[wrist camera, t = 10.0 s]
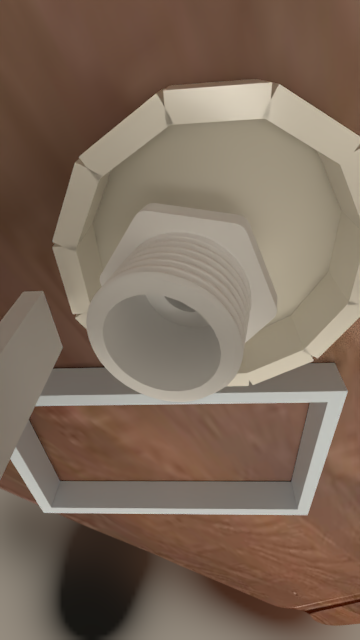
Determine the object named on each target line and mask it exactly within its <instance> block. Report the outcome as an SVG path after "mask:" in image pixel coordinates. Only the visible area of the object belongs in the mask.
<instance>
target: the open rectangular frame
mask: <svg viewBox="0 0 360 640" xmlns="http://www.w3.org/2000/svg"><path fill="white" fill-rule="evenodd" d="M347 392H348V391H347V388H346V386H345V384H344V382H343V380H342V378H341V376H340V373H339V371H338V369H337V367H336V365H335V363H307V364H305V365H302V366H300V367H297V368H295V369H292V370H290V371H287V372H285V373H282V374H280V375H277V376H275V377H272V378H270V379H267V380H265V381H262V382H260V383H257V384H255V385H252V383H251V382H250V381H249V386H225V387H224V388H223V389H221V390H220V391H218V392H216V393H214V394H211V395H208V396H206V397H204V398H201V399H198V400H194V401H189V402H170V401H164V400H159V399H155V398H152V397H149V396H146V395H144V394H141V393H139V392H137V391H135V390H133V389H131V388H130V387H128V386H126V385H125V384H123V383H122V382H121V381H119V380H118V379H117V378H115V377H114V376H113V375H112V374H111V373H110V372H109V371H108V370H107V369H106V368H58V369H52V371H51V374H50V376H49V378H48V380H47V382H46V384H45V386H44V388H43V390H42V393H41V395H40V397H39V399H38V401H37V403H36V405H35V406H79V405H156V404H233V403H310V404H309V408H308V413H307V417H306V421H305V425H304V429H303V434H302V438H301V442H300V446H299V451H298V455H297V459H296V463H295V467H294V472H293V476H292V480H291V482H226V481H60V480H59V478H58V476H57V474H56V472H55V470H54V468H53V466H52V464H51V462H50V460H49V458H48V457H47V455H46V453H45V451H44V449H43V447H42V445H41V443H40V441H39V439H38V437H37V435H36V433H35V431H34V429H33V427H32V425H31V423H30V421H29V420H28V422H27V424H26V426H25V428H24V431H23V433H22V435H21V437H20V439H19V441H18V443H17V445H16V447H15V450H14V452H13V454H12V456H11V458H10V459H11V461H12V462H13V464H14V466H15V467H16V469H17V470H18V472H19V474H20V475H21V477H22V478H23V480H24V482H25V483H26V485H27V486H28V488H29V490H30V491H31V493H32V495H33V496H34V498H35V499H36V501H37V503H38V504H39V506H40V507H41V509H42V511H43V512H44V513H124V514H240V515H308V512H309V509H310V506H311V503H312V500H313V497H314V494H315V491H316V487H317V484H318V481H319V478H320V475H321V472H322V469H323V466H324V463H325V460H326V457H327V454H328V451H329V447H330V444H331V441H332V438H333V435H334V432H335V429H336V426H337V423H338V420H339V417H340V414H341V411H342V407H343V404H344V401H345V398H346V395H347Z"/></svg>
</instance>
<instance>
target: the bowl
mask: <svg viewBox="0 0 360 640" xmlns="http://www.w3.org/2000/svg"><path fill="white" fill-rule="evenodd" d="M79 158H80V159H78V160H77V161H76V162H75V164H74V168H73V171H72V174H71V178H70V181H69V185H68V188H67V192H66V195H65V199H64V202H63V206H62V209H61V213H60V216H59V219H58V223H57V226H56V230H55V233H54V237H53V240H52V242H53V243H55V244H54V245H53V247H52V248H53V252H54V255H55V258H56V262H57V265H58V268H59V271H60V275H61V278H62V281H63V285H64V288H65V291H66V295H67V298H68V301H69V304H70V308H71V311H72V314H77V315H76V317H75V319H76V320H77V321H78V322H79V323H81V324H82V325H83V326H84V327H85V328H86V329H87V325H86V319H87V312H88V308H89V305H90V303H91V301H92V299H93V297H94V296H95V294H96V293H97V292H98V291H99V290H100V288H101V287H102V286H101V284H100V275H101V274H102V272H103V270H104V268H105V267H106V265H107V263H108V262H109V260H110V258H111V256H112V255H113V253H114V251H115V250H116V248H117V246H118V244H119V243H120V241H121V239H122V237H123V236H124V234H125V232H126V231H127V229H128V227H129V225H130V224H131V222H132V220H133V219H134V217H135V215H136V214H137V213H138V212H139V211H140V210H141V209H143V208H144V207H145V206H146V205H147V204H150V203H159V204H166V205H173V206H180V207H187V208H194V209H202V210H209V211H216V212H223V213H230V214H237V215H241V216H243V217H245V218H246V219H247V220H248V222H249V223H250V226H251V228H252V231H253V234H254V236H255V239H256V241H257V244H258V247H259V249H260V252H261V254H262V257H263V260H264V262H265V265H266V268H267V270H268V273H269V275H270V278H271V281H272V283H273V286H274V289H275V291H276V294H277V298H278V301H277V313H276V316H275V317H274V318H273V319H272V320H271V321H270V322H269V323H268V324H266V325H265V326H264V327H263V328H262V329H261V330H260V331H258V332H257V333H256V334H255V335H254V336H253V337H252V338H250V339H249V340H248V341H247V342H246V343H245V347H244V351H243V359H242V363H241V366H240V369H239V371H238V372H237V374H236V376H235V377H234V379H233V380H232V381H231V382H230V383H229V384H228V385H227V386H249V381H250V382H251V383H252V385H255V384H257V383H260V382H262V381H265V380H267V379H270V378H272V377H275V376H277V375H280V374H282V373H285V372H287V371H290V370H292V369H295V368H297V367H300V366H302V365H305V364H307V363H310V362H312V361H314V360H313V357H312V356H314V357H316V358H319V357H320V356H321V355H322V354H323V353H324V352H325V351H326V350H327V349H328V348H329V347H330V346H331V345H332V344H333V343H334V342H335V341H336V340H337V339H338V338H339V337H340V336H341V335H342V334H343V333H344V332H345V331H346V330H347V329H348V328H349V327H350V326H351V325H352V324H353V323H354V322H355V321H356V320H357V319H358V318H359V317H360V136H358V135H357V134H355V133H354V132H352V131H351V130H349V129H348V128H346V127H345V126H343V125H341V124H340V123H338V122H337V121H335V120H334V119H332V118H331V117H329V116H328V115H326V114H325V113H323V112H322V111H320V110H318V109H317V108H315V107H314V106H312V105H311V104H309V103H308V102H306V101H305V100H303V99H302V98H300V97H298V96H297V95H295V94H294V93H292V92H291V91H289V90H288V89H286V88H285V87H283V86H282V85H280V84H277V83H272V82H269V81H264V80H259V79H247V80H233V81H220V82H207V83H194V84H181V85H170V86H169V87H167V88H166V89H165V88H163V89H162V90H160V91H159V92H157V93H156V94H155V95H153V96H152V97H151V98H150V99H149V100H147V101H146V102H145V103H144V104H142V105H141V106H140V107H139V108H138V109H136V110H135V111H134V112H133V113H131V114H130V115H129V116H128V117H127V118H125V119H124V120H123V121H122V122H120V123H119V124H118V125H117V126H116V127H114V128H113V129H112V130H111V131H109V132H108V133H107V134H106V135H105V136H103V137H102V138H101V139H100V140H98V141H97V142H96V143H95V144H94V145H92V146H91V147H90V148H89V149H87V150H86V151H85V152H84V153H83V154H81V155H80V156H79Z"/></svg>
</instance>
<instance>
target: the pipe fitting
mask: <svg viewBox="0 0 360 640" xmlns="http://www.w3.org/2000/svg"><path fill="white" fill-rule="evenodd" d="M100 284H101V286H102V287H101V288H100V290H99V291H98V292H97V293H96V294H95V296H94V297H93V299H92V301H91V303H90V305H89V308H88V312H87V319H86V325H87V333H88V337H89V341H90V344H91V346H92V348H93V350H94V352H95V354H96V356H97V357H98V359H99V360H100V362H101V363H102V364H103V365H104V367H105V368H106V369H107V370H108V371H109V372H110V373H111V374H112V375H113V376H114V377H115V378H117V379H118V380H119V381H121V382H122V383H123V384H125V385H126V386H128V387H130V388H131V389H133V390H135V391H137V392H139V393H141V394H144V395H146V396H149V397H152V398H155V399H159V400H164V401H170V402H189V401H194V400H198V399H201V398H204V397H206V396H208V395H211V394H214V393H216V392H218V391H220V390H221V389H223V388H224V387H225V386H227V385H228V384H229V383H230V382H231V381H232V380H233V379H234V377H235V376H236V374H237V372H238V371H239V369H240V366H241V363H242V359H243V351H244V347H245V343H246V342H247V341H248V340H249V339H250V338H252V337H253V336H254V335H255V334H256V333H257V332H258V331H260V330H261V329H262V328H263V327H264V326H265V325H266V324H268V323H269V322H270V321H271V320H272V319H273V318H274V317H275V316H276V313H277V301H278V298H277V294H276V291H275V289H274V286H273V283H272V281H271V278H270V275H269V273H268V270H267V268H266V265H265V262H264V260H263V257H262V254H261V252H260V249H259V247H258V244H257V241H256V239H255V236H254V234H253V231H252V228H251V226H250V223H249V222H248V220H247V219H246V218H245V217H243V216H241V215H237V214H230V213H223V212H216V211H209V210H202V209H194V208H187V207H180V206H173V205H166V204H159V203H150V204H147V205H146V206H145V207H144V208H143V209H141V210H140V211H139V212H138V213H137V214H136V215H135V217H134V219H133V220H132V222H131V224H130V225H129V227H128V229H127V231H126V232H125V234H124V236H123V237H122V239H121V241H120V243H119V244H118V246H117V248H116V250H115V251H114V253H113V255H112V256H111V258H110V260H109V262H108V263H107V265H106V267H105V268H104V270H103V272H102V274H101V275H100Z"/></svg>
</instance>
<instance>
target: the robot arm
mask: <svg viewBox="0 0 360 640" xmlns="http://www.w3.org/2000/svg"><path fill="white" fill-rule="evenodd" d="M62 348H63V346H62V343H61V341H60V338H59V335H58V332H57V329H56V326H55V323H54V320H53V318H52V315H51V312H50V309H49V306H48V303H47V300H46V297H45V295H44V292H43V291H29V292H23V293H22V294H21V295H20V297H19V298H18V299H17V301H16V302H15V303H14V304H13V306H12V307H11V308H10V310H9V311H8V312H7V314H6V315H5V316H4V318H3V319H2V320H1V321H0V479H1V477H2V475H3V473H4V471H5V469H6V466H7V464H8V462H9V460H10V458H11V456H12V454H13V452H14V450H15V447H16V445H17V443H18V441H19V439H20V437H21V435H22V433H23V431H24V428H25V426H26V424H27V422H28V420H29V418H30V416H31V414H32V412H33V409H34V407H35V405H36V403H37V401H38V399H39V397H40V395H41V393H42V390H43V388H44V386H45V384H46V382H47V380H48V378H49V376H50V374H51V371H52V369H53V367H54V365H55V363H56V361H57V359H58V357H59V355H60V352H61V350H62Z"/></svg>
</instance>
